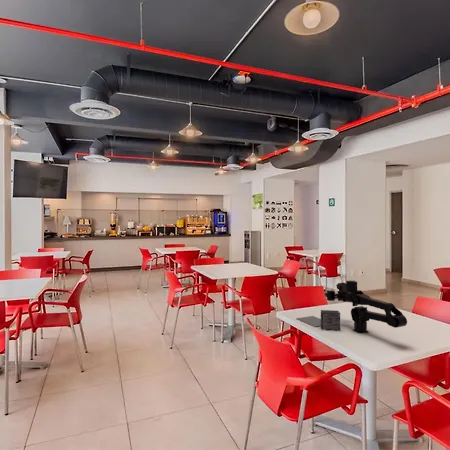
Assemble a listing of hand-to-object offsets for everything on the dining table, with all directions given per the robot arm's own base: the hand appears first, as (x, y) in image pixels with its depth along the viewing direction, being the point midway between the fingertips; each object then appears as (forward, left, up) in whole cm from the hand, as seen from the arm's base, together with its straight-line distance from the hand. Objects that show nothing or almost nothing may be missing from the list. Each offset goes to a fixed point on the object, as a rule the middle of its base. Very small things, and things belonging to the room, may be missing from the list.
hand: (330, 294), depth 216 cm
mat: (0, +13, -17) cm, 21 cm away
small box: (-14, +13, -17) cm, 26 cm away
